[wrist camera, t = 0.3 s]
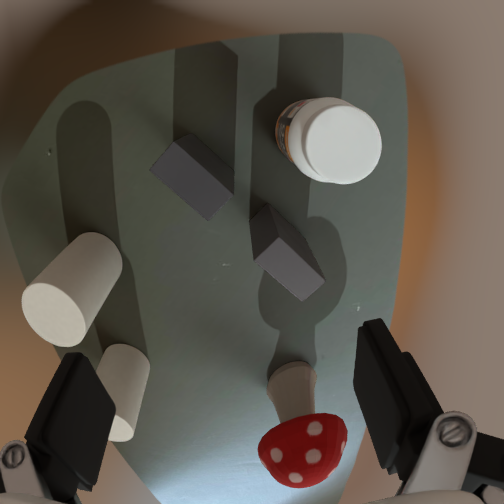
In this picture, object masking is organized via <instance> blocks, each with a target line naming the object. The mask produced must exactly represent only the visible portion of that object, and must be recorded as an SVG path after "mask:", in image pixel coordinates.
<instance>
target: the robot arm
mask: <svg viewBox="0 0 504 504" xmlns="http://www.w3.org/2000/svg"><path fill="white" fill-rule="evenodd" d="M353 386H354V391H355V394H356V396H357V399H358V402H359V405H360V408H361V410H362V413H363V416H364V419H365V422H366V425H367V428H368V431H369V433H370V436H371V439H372V442H373V445H374V448H375V451H376V454H377V457H378V460H379V463H380V466H381V468H382V469H385V468H387V471H388V474H389V475H391V474H394V473H398V476H399V479H400V480H402V483H401V485H400V487H399V489H398V491H397V493H396V495H395V496H394V497H390V498H386V499H382V500H378V501H373V502H369V503H365V504H504V439H500V438H496V437H493V436H490V435H486V434H483V433H480V432H477V427H476V424H475V422H474V421H473V419H472V418H471V417H470V416H468V415H467V414H465V413H462V412H459V411H451V412H446V413H444V412H443V410H442V408H441V406H440V404H439V402H438V401H437V399H436V397H435V395H434V393H433V392H432V390H431V388H430V386H429V384H428V383H427V381H426V379H425V377H424V376H423V374H422V372H421V371H420V369H419V367H418V365H417V363H416V362H415V360H414V359H413V357H412V355H411V354H410V353H409V352H403V353H402V352H401V351H400V349H399V347H398V345H397V344H396V342H395V340H394V338H393V337H392V335H391V333H390V332H389V330H388V328H387V326H386V325H385V323H384V321H383V320H382V319H381V318H379V319H374V320H369V321H365V322H364V323H363V326H361V327H359V328H358V337H357V349H356V359H355V369H354V378H353ZM115 414H116V406H115V403H114V402H113V400H112V398H111V397H110V395H109V394H108V392H107V390H106V389H105V387H104V385H103V384H102V382H101V380H100V379H99V377H98V375H97V374H96V372H95V370H94V368H93V367H92V365H91V363H90V361H89V359H88V358H87V357H86V356H84V355H83V354H82V353H80V352H75V353H66V354H65V356H64V357H63V359H62V361H61V364H60V365H59V367H58V369H57V371H56V373H55V374H54V377H53V378H52V380H51V382H50V384H49V386H48V388H47V390H46V392H45V394H44V396H43V398H42V400H41V402H40V404H39V406H38V408H37V411H36V413H35V414H34V417H33V419H32V421H31V423H30V425H29V427H28V430H27V432H26V434H25V436H24V438H25V439H26V440H27V442H26V444H25V443H24V442H23V441H20V440H13V441H10V442H9V443H7V444H6V445H5V446H4V447H3V448H2V450H1V452H0V504H82V503H81V501H80V499H79V497H78V496H77V493H76V491H77V488H78V489H80V490H85V491H90V492H91V491H92V487H93V485H95V484H96V482H97V479H98V475H99V471H100V467H101V463H102V459H103V456H104V452H105V448H106V445H107V441H108V438H109V434H110V431H111V427H112V424H113V420H114V417H115Z"/></svg>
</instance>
